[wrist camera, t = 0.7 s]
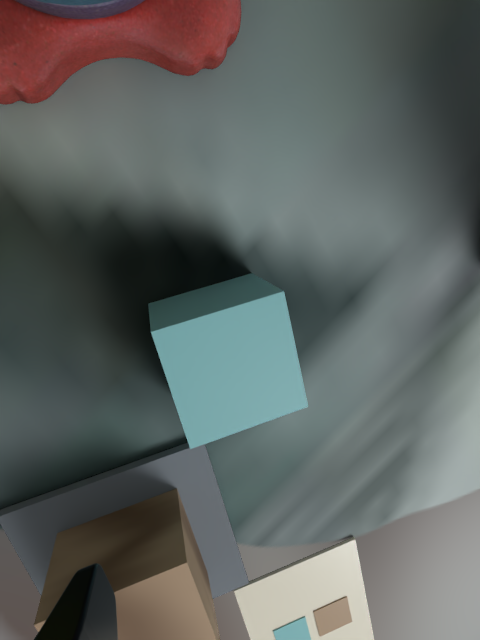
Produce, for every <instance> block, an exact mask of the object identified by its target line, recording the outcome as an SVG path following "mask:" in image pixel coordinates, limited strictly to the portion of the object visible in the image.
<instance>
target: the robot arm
mask: <svg viewBox="0 0 480 640" xmlns="http://www.w3.org/2000/svg"><path fill="white" fill-rule="evenodd" d="M34 640H118V632H117V611H116V599H115V594H114V591H113V589H112V587H111V585H110V583H109V581H108V579H107V576H106V574H105V572H104V570H103V568H102V566H101V565H100V564H98V563H94V564H92V565H89V566H87V567H84V568H82V569H79V570H78V571H77V572H76V573H75V574H74V576H73V577H72V579H71V581H70V582H69V584H68V585H67V587H66V589H65V590H64V592H63V593H62V595H61V597H60V598H59V600H58V602H57V603H56V605H55V606H54V608H53V610H52V611H51V613H50V614H49V616H48V618H47V619H46V621H45V623H44V624H43V626H42V627H41V629H40V631H39V632H38V634H37V635H36V637H35V639H34Z"/></svg>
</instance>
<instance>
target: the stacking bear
mask: <svg viewBox="0 0 480 640" xmlns="http://www.w3.org/2000/svg"><path fill="white" fill-rule="evenodd" d="M240 21H241V1H240V0H0V104H12V103H14V102H16V101H24V102H26V103H38V102H41V101H43V100H46V99H47V98H48V97H50V96H51V95H52V94H53V93H54V92H55V91H56V90H57V89H58V88H59V87H60V86H61V85H62V84H63V83H64V82H65V81H66V80H67V79H68V78H69V77H70V76H71V75H72V74H73V73H75V72H76V71H78V70H79V69H81V68H82V67H84V66H87V65H89V64H91V63H93V62H96V61H99V60H103V59H109V58H118V57H126V58H135V59H141V60H144V61H148V62H150V63H153V64H155V65H157V66H160V67H162V68H164V69H166V70H168V71H170V72H173V73H176V74H180V75H187V76H189V75H194V74H196V73H198V72H199V71H200V70H201V69H204V68H207V69H214V68H217V67H218V66H219V65H220V64H221V63H222V62H223V60H224V58H225V56H226V52H227V48H228V47H229V46H230V45H231V44H232V43H233V42H234V41H235V39H236V37H237V34H238V32H239V28H240Z"/></svg>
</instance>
